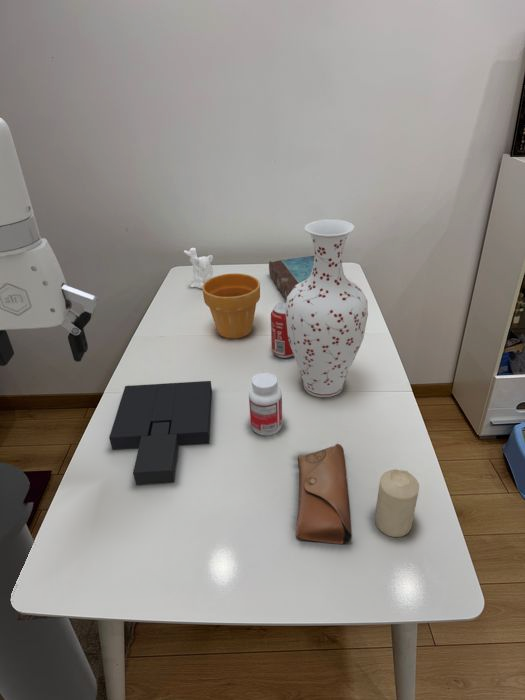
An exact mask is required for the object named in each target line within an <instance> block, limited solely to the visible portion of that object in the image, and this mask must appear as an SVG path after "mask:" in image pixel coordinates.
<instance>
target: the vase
mask: <svg viewBox="0 0 525 700" xmlns="http://www.w3.org/2000/svg"><path fill="white" fill-rule="evenodd" d="M303 227H304V231H305V232H306V233H308V234H309V235H310V236H311V237H310V238H311V239H312V245H313V252H314V255H313V256H314V266H313V269H312V272H311V275H310V277H309V278H308V279H306V280H305V281H303V282H301V283H299V284H297V285H296V286H295V287H294V288H293V290H292V291H291V292H290V294H289V295H288V296H287V300H286V299H285V303H286V308H285V313H286V323H287V332H288V339H289V343H290V346H291V349H292V352H293V354H294V355H293V357H294V359H295V362H296V365H297V368H298V371H299V373H300V376H301V378H302V381H303V388H304V390H305V391H306V392H307V393H308V394H310V395H311V396H314V397H318V398H330V397H333V396H337V395H338V394H340V393H341V392H342V391H343V388H344V382H345V380H346V378H347V376H348V374H349V371H350V369H351V367H352V366H353V363H354V361H355V359H356V356H357V354H358V353H359V350H360V348H361V345H362V343H363V341H364V336H365V333H366V327H367V322H368V316H369V305H368V299H367V297H366V294H365V293H364V291H363V290H362V288H361V287H360V286H359V285H357V284H356V283H354V282H352V281H351V280H350V279H348V278H347V277H346V275H345V272H344V267H343V253H344V248H345V244H346V239H347V238H348V236H349V234H351V233H353V232H354V230H355V225H354V224H353V223H351V222H349V221H347V220H343V219H334V218H333V219H330V218H329V219H320V220H315V221H311V222H308V223H307V224H305V226H303Z"/></svg>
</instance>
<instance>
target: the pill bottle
mask: <svg viewBox="0 0 525 700" xmlns="http://www.w3.org/2000/svg"><path fill="white" fill-rule="evenodd" d="M282 393H283V392H282V389H281V388H280V386H279V384H278V377H277V376H276V375H275V374H273V373H271V372H260V373H257V374H255V375H254V376H253V377H252V379H251V387H250V389H249V391H248V403H249V404H248V405H249V418H250V419H249V421H250V427H251V430H252V431H253V432H254V433H256V434H258V435H260V436H271V435H272V436H273V435H275V434H277V433H278V432H279V431H281V429H282V428H283V394H282Z"/></svg>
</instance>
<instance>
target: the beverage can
mask: <svg viewBox="0 0 525 700" xmlns="http://www.w3.org/2000/svg"><path fill="white" fill-rule="evenodd" d="M285 308H286V302H282V303H277V304H275V305H274V306H273V309H272V311H271V312H270V332H271V333H270V339H271V340H270V341H271V352H272V353H273V354H274V355H275V356H277V357H278V358H282V359H285V358H286V359H287V358H291V357H294V354H293V352H292V349H291V346H290V343H289V339H288V332H287V323H286V313H285Z"/></svg>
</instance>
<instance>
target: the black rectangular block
mask: <svg viewBox="0 0 525 700" xmlns="http://www.w3.org/2000/svg"><path fill="white" fill-rule="evenodd" d="M170 428H171V426H170V422H161V423H153V425H152V430H151V435H150V436H141V440H140V444H139V448H137V454H136V457H135V462H134V466H133V472H132V474H133V478H134V483H135V485H136V486H142V485H155V484H157V485H158V484H172V483H175V479H176V472H177V471H176V470H177V463H178V455H179V448H180V446H179V444H178V438H177V434H170Z"/></svg>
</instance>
